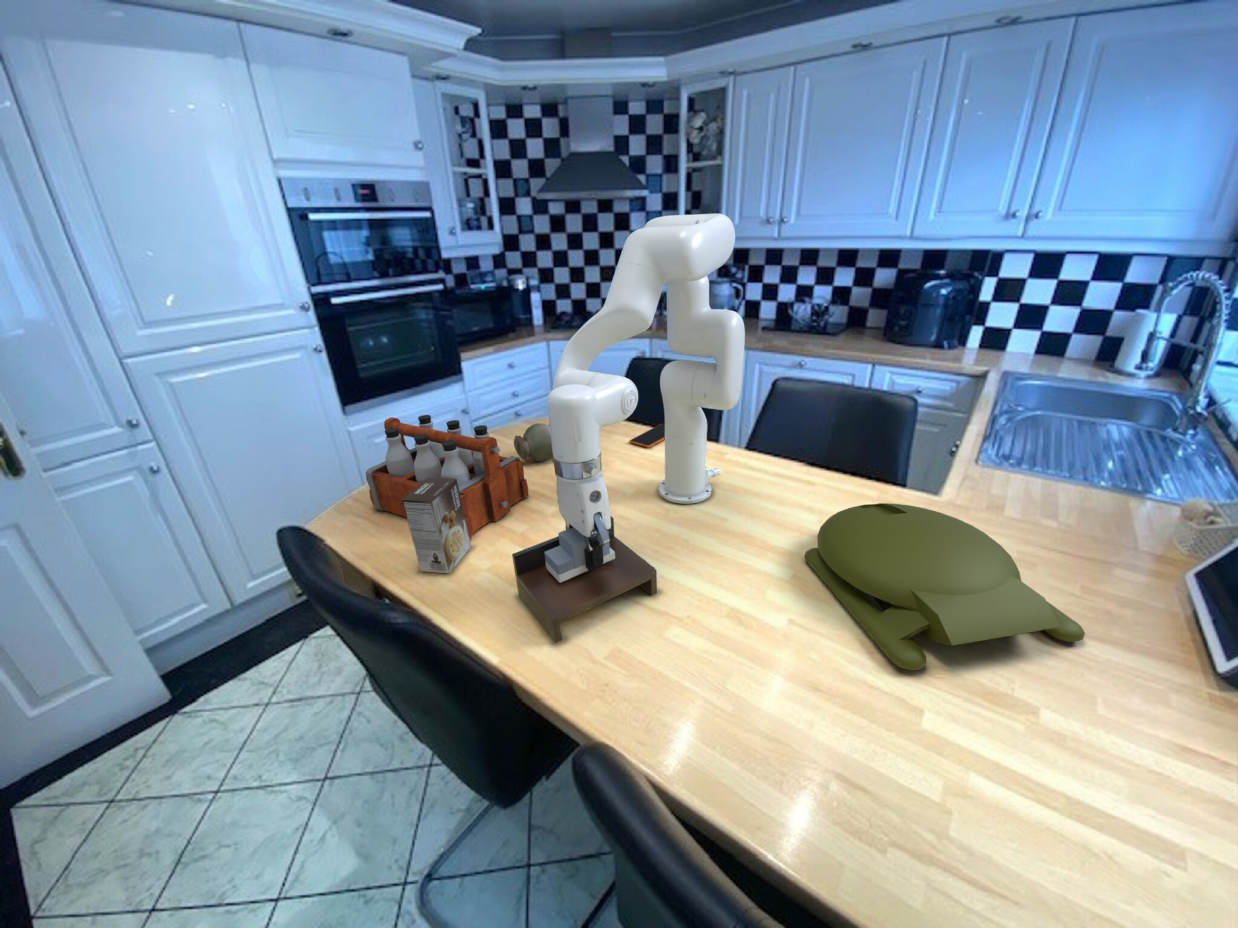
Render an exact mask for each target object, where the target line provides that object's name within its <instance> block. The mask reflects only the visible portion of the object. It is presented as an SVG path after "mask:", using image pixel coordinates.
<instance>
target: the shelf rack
mask: <svg viewBox="0 0 1238 928" xmlns="http://www.w3.org/2000/svg"><path fill="white" fill-rule="evenodd" d="M610 518H611V527H610V529H607V531H608V532H609V538H610V542H609V545H610V548H611V549H612V550H613V551H615V559H613V560H611V561H608V562H606V563H604V564H602V565H599V566H597V567H595V568H592V569H590V570H588V571H586V572H583V573H581V574H579V575H577V576H574V577H572V578H570V579H568V580H565V581H563V582H561V583H559V581H558V580H557V579H556V578H555V577H554V576H553V575H552V574H551V573H550V572H549V571H548V569H547V568H546V562H545V553H544V552H545V551H548V550H550V549H553V548H555V547H558V546H560V543H559V535H558V536H555V537H552V538H550V539H547V540H545V541H542V542H539V543H537V544H535V545H532V546H529V547H526V548H524V549H522V550H519V551H516V552H514V553H511V555H512V556H511V557H512V562H513V563H512V564H513V568H514V569H513V570H514V575H515V581H516V588H517V592H518V597H519V598H520V600H521V601H522V602H523V604H525V606H526V607H527V608H528V610H529V611H530V613H531V614H532V615H533V617H534V618H535V619H536V620H537V621H538V623H539V624H540V626H542V628H543V629H544V631H545V632H546V633H547V634H548V636H549V637H550V639H551V640H552V641H553V642H554V643H555V644H557V643H560V642H562V641H563V637H562V636H563V635H562V627H561V623H564V622H566V621H568V620H571V618H574V617H576V616H578V615H580V614H582V613H584V612H587V611H588V610H590V609H593V608H595V607H597V606H599V605H601V604H603V603H605V602H607V601H609V600H611V599H614V598H616V597H617V596H620V595H621V594H623V593H626V592H628V591H630V590H631V589H634V588H636V587H638V586H640V587H641V588H642V589H643V590H645V592H646V593H648V594H649V595H650V596H653V595H656V594H657V593H658V576H657V572H658V571H657V568H655V567H654V566H653V565H651V564H650V562H648V561H646V559H644V558H642V556H640V555H639V554H638V553H636V552H635V551H634V550H632V549H631V548H630V547H629V546H628V545H626V544H625V543H624V542H623V541H621V540H620V539H619V538H617V537H616V536H615V522H614V520H615V519H614V517H613V516H611V515H610Z"/></svg>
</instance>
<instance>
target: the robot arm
mask: <svg viewBox="0 0 1238 928" xmlns="http://www.w3.org/2000/svg"><path fill="white" fill-rule="evenodd" d="M735 244H736V230H735V225H734V224H733V221H732V220H731V219H730V217H729V216H727V215H726V214H723V213H700V214H699V213H698V214H673V215H663V216H659V217H655V218H652V219H650V220H649V221H646V223H645V225H644V226H643V227H642V228H641V227H640V228H639V229H635V230H634V231H632V232H631V233H629V235H628V236H627V238H626V240H625V242H624V244H623V246H622V250H621V253H620V256H619V259H618V262H617V265H616V268H615V271H614V275H613V276H612V281H611V283H610V286H609V289H608V292H607V295H606V299H605V302H604V304H603V306H602V308H601V309H600V310H599V311H598V312H596V314H594V315H593V316H592V317H591V318H589V319H588V320H587V321H586V322H584V324H583V325H582V326H581V327H580V328H579V329H578V330H577V331H576V332H575V334H573V335H572V337H571V338H570V339H569V340H568V341H567V343H566V345H565V347H564V349H563V350H562V354H561V356H560V359H559V362H558V365H557V368H556V371H555V375H554V378H553V383H552V389H551V391H549V393H548V395H547V399H546V403H547V413H548V425H549V424H550V433H551V442H552V450H553V457H552V460H553V469H554V475H555V478H556V497H557V505H558V511H559V514H560V516H561V517H562V519H563V520H564V522H565V527H564V528H565V530H567V529H570V528H572V527H574V528H575V529H576V530H577V531H579V532H580V533H581V534H582V535H584V539H585V543H586V548H587V549H584V550H585V562H586V568H587V569H588V570H590V569H592V568H595V567H597V566H599V565H601V564H603V562H604V560H603V546H604V544H605V543H608V542H610V538H609V536H608V533H607V531H606V530H607V529H610V527H611V518H610V516H611V510H610V501H609V495H608V490H607V485H606V481H605V478H604V475H603V474H602V473H603V463H602V450H601V448H602V447H601V433H600V431H601V428H604V427H607V426H611V425H614V424H619V423H620V422H623V421H625V420H627V419H628V418H629V417H630V416H631V415H632V414H633V413H634V411H635V410H636V408H637V406H638V403H639V390H638V388H637V386H636V384H635V383H634V382H633V381H632V380H631V379H630V378H627V377H625V376H622V375H618V374H612V373H605V372H604V373H603V372H597V371H589V369H590V367H591V365H592V363H593V362H594V360H595V359H596V358H597V357H598V356H599V355H600V354H601V353H602V352H604V351H605V350H606V349H608V348H610V347H611V346H614V345H616V344H618V343H620V342H623V341H625V340H628V339H630V338H633V337H636V336H638V335H640V334H642V333H644V332H645V331H647V330H648V329H649V328H650V327H651V326H652V324H653V322H654V317H655V315H656V311H657V309H658V308H657V307H658V305H659V301H660V298H661V296H662V293H663V289H664V287H665V289H666V339H667V344H668V348H669V349H670V350H671V352H673V353H675V354H678V355H684V356H691V357H701V358H712V359H714V361H715V362H710V361H709V362H707V361H703V360H702V361H701V360H690V359H676V360H672V361H670V362H668V363H667V364H666V365H665V366H664V367H663V368H662V370H661V372H660V377H659V385H660V386H659V388H660V393H661V397H662V398H661V399H662V403H663V414H664V424H665V439H664V480H662V481H661V482H660V483H659V484H658V494H659V496H660V497H661V498H663V499H664V500H666V501H667V502H671V503H675V504H682V505H690V504H696V503H701V502H704V501H705V500H707V499H708V498H709V497H710V496H711V495H712V490H713V489H712V485H711V484H710V482H709V481H710V480H712V478H715V477H718V476H720V473H721V471H720V469H719V468H717V467H715V468H713V469H710V470H709V468H708V466H707V439H708V420H707V417H706V415H705V412H704V411H703V409H702V408H704V409H712V410H719V411H729V410H732V409H734V408H735V407H736V406H737V405H738V403H739V401H740V399H741V395H742V390H743V389H742V387H743V376H744V363H745V362H744V361H745V345H746V328H745V323H744V320H743V318H742V316H741V315H740V314H739V313H738V312H737V311H734V310H731V309H720V308H719V309H718V308H711V306H710V281H709V277H708V276H709V275H711V274H712V273H714V272H715V271H716V270H718V269H719V268H721V267H723V265H724V264H725V263H727V261H728V260H729V259H730V257H731V255H732V253H733V251H734V248H735ZM593 527H594V529H593ZM595 534H596V537H597V539H596V540H594V541H592V542H591V539H590V536H592V535H595Z"/></svg>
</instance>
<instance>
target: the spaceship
mask: <svg viewBox="0 0 1238 928" xmlns="http://www.w3.org/2000/svg"><path fill="white" fill-rule="evenodd" d="M816 538H817V539H816V540H817V541H816V542H817V543H816V544H817V545H816V546H817V547H812V548H808V549H807V550H806V551H805V553H804V560H805V561H806V562H807V563H808V565H809V566H810V567H811V568H812V569H813V570H814V572H815V573H816V574H817V575H818V576H819V577H820V579H821V580H822V581H823V582H824V584H825V585H826V586H827V587H828V588H829V589H830V591H831V592H832V593H833V594H834V595H835V597H836V598H837V599H838V600H839V601H840V603H842V605H843V606H844V607H845V608H846V610H847V611H848V612H849V613H850V614H851V615H852V617H853V618H854V619H855V621H856V622H857V623H858V624H859V625H860V626H861V627H862V629H863V630H864V631H865V632H866V633H867V634H868V636H869V637H870V638H871V639H872V641H874V643H875V644H876V646H878V647H879V649H880V650H881V651H882V652H883V654H884V655H885V656H886V657H887V658H888V659H889V660H890V661H891V662H892V663H893V664H894V665H896V667H899V668H901V669H903V670H907V671H918V670H921V669H923V668H924V667H925V666H926V664H927V655H926V654H925V652H924V651H923V649H922V648H921V647H920V646H919V645H918V643H916V642H915V640H913V638H912V637H914V636H916V635H917V634H919V633H922V634H923V635H925V637H927V639H928V640H929V641H932V642H936V643H940V644H944V645H948V646H957V645H964V644H969V643H974V642H981V641H986V640H993V639H999V638H1004V637H1005V638H1006V637H1009V636H1010V637H1011V636H1015V635H1021V634H1022V635H1023V634H1027V633H1032V632H1033V633H1034V632H1039V631H1044V632H1046V633H1047V634H1048V635H1050V636H1051V637H1053V638H1055V639H1056V640H1060V641H1062V642H1068V643H1077V642H1080V641H1083V640H1084V638H1085V636H1086V632H1085V630H1084V629H1083V627H1082V625H1080V623H1078V622H1077V621H1075V619H1073V618H1071V617H1070V616H1068V615H1067V614H1066V613H1064V612H1062V611H1061V610H1059V609H1058V608H1057V607H1056V606H1054V605H1053V604H1052V603H1050V602H1049V601H1047V600H1046V597H1044V596H1043V595H1042V594H1040V593H1039V592H1037V591H1036V590H1035V589H1033V588H1032V587H1030V586H1029V585H1028V584H1026V583H1024V582H1023V580H1022V578H1021V577H1022V576H1021V573H1020V570H1019V567H1018V566H1017V564H1016V562H1015V560H1014V559H1013V557H1012V555H1011V554H1010V553H1009V552H1008V551H1007V550H1006V549H1005V548H1004V547H1003V546H1002V545H1001V544H1000V543H998V542H997V541H996V540H995V539H994V538H992V537H991V536H989V535H988V534H987V533H986V532H984V531H982V530H980V529H979V528H977V527H975V526H974V525H972V524H970V523H967V522H965V521H964V520H961V519H960V518H957V517H955V516H951V515H948V514H945V513H943V512H939V511H937V510H932V509H930V508H925V507H920V506H915V505H909V504H903V503H888V502H887V503H886V502H885V503H883V502H882V503H881V502H879V503H867V504H861V505H856V506H851V507H847V508H845V509H843V510H839V511H837V512H836V513H834V514H832V515H831V516H829V517H828V519H826V520H825V521H824V522H823V524H822V525H820V527H819V530H818V533H817V536H816ZM875 598H876V599H878V600H881V601H883V602H886V603H889V604H891V605H892V606H891V607H889V608H887V609H884V608H883V606H881V604H879V602H877V600H876V599H875Z"/></svg>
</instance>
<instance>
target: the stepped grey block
mask: <svg viewBox="0 0 1238 928" xmlns="http://www.w3.org/2000/svg"><path fill="white" fill-rule="evenodd" d="M593 529H594V527H593ZM606 531H607V530H606ZM607 533H608V536H609V532H608V531H607ZM558 536H559V543H560V546H558V547H555V548H553V549H550V550H548V551H545V552H544V553H545V562H546V568H547V569H548V571H549V572H550V573H551V574H552V575H553V576H554V577H555V578H556V579H557V580H558V581H559V583H561V582H563V581H565V580H568V579H570V578H572V577H574V576H577V575H579V574H581V573H583V572H586V571H588V569H587V568H586V562H585V550H584V549H587V548H586V543H585V539H584V535H582V534H581V533H580V532H579V531H577V530H576V529H575V528H574V527H572V528H570V529H567V530H566V529H565V530H562V531H559V532H558ZM590 539H591V542H592V541H594V540H596V539H597V537H596V534H595V535H592V536H590ZM613 559H615V551H613V550H612V549H611V548H610V545H609V542H608V543H605V544H604V546H603V560H604V562H603V564H604V563H606V562H608V561H611V560H613ZM601 565H602V564H601Z"/></svg>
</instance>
